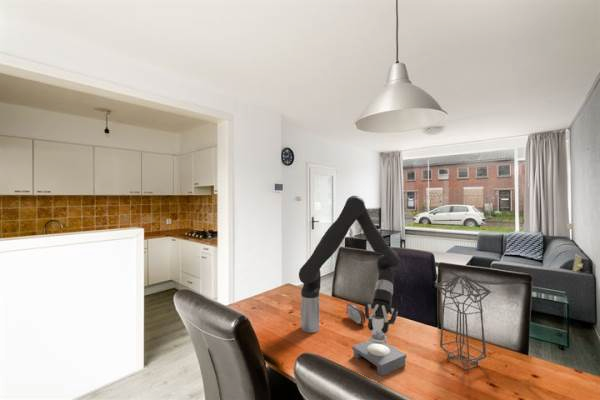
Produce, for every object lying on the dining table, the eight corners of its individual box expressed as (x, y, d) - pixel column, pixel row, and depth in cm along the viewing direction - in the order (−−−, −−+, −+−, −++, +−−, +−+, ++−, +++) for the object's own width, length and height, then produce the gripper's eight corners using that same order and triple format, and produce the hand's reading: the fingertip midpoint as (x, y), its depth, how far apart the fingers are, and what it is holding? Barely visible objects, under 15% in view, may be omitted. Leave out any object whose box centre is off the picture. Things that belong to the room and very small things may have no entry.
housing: (366, 338, 112) (366, 315, 112) (378, 334, 115) (377, 311, 115) (378, 345, 106) (378, 321, 106) (390, 340, 109) (390, 317, 110)
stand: (352, 355, 114) (352, 345, 114) (376, 346, 121) (376, 336, 121) (381, 376, 100) (381, 364, 100) (406, 365, 107) (406, 353, 107)
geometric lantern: (432, 356, 113) (431, 272, 115) (459, 349, 119) (458, 269, 120) (467, 378, 99) (466, 281, 100) (496, 369, 104) (494, 277, 105)
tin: (366, 326, 141) (365, 310, 141) (361, 327, 140) (360, 311, 140) (350, 315, 155) (350, 300, 155) (345, 316, 154) (345, 301, 154)
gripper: (365, 286, 121) (357, 323, 110) (399, 290, 114) (394, 331, 103) (369, 294, 125) (361, 331, 115) (401, 299, 118) (397, 339, 108)
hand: (377, 331), depth 109 cm, fingers closed on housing, 5 cm apart
